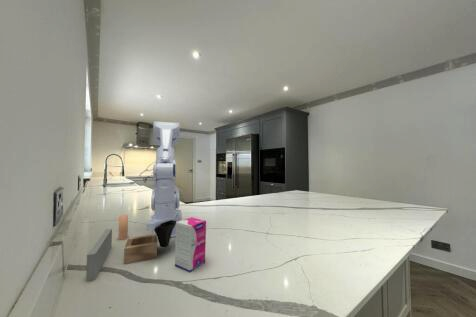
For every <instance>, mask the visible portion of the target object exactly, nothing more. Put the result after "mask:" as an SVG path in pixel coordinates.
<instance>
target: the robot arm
mask: <svg viewBox="0 0 476 317" xmlns="http://www.w3.org/2000/svg"><path fill="white" fill-rule="evenodd" d="M152 125H153V126H152V127H153V130H152V131H153V138H154V139H153V140H154V143H155V144H156V145H157V146H159V147H158V148H157V149H156V155H155V164H153V167H152V169H153V170H152V179H153V187H154V188H153V189H152V192H151V199H150V208H151V211H152V212H153V211H154V213H153V215H151V216H150V217H151V219H150V220H149V221H148V222H146V223H145V224H146V225H145V231H151V232H152V231H153V234H156V235H157V242H158V243H159V248H167V247H169V244H170V241H171V238H174V237H175V238H176V222H178V221H181V220H183V217H182V216H183V215H182V214H183V213H182V209H179V208H180V199H181V198H180V197H181V196H180V189H179V188H178V187H177V186H176V185H175V184H176V183H175V182H176V179H177V164H176V159H175V156H176V155H175V152H176V151H175V149H174V147H175V146H177V145H179V142H180V133H181V132H180V131H181V130H180V129H181V127H180V122H170V121H157V120H155V121H153V124H152Z"/></svg>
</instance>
